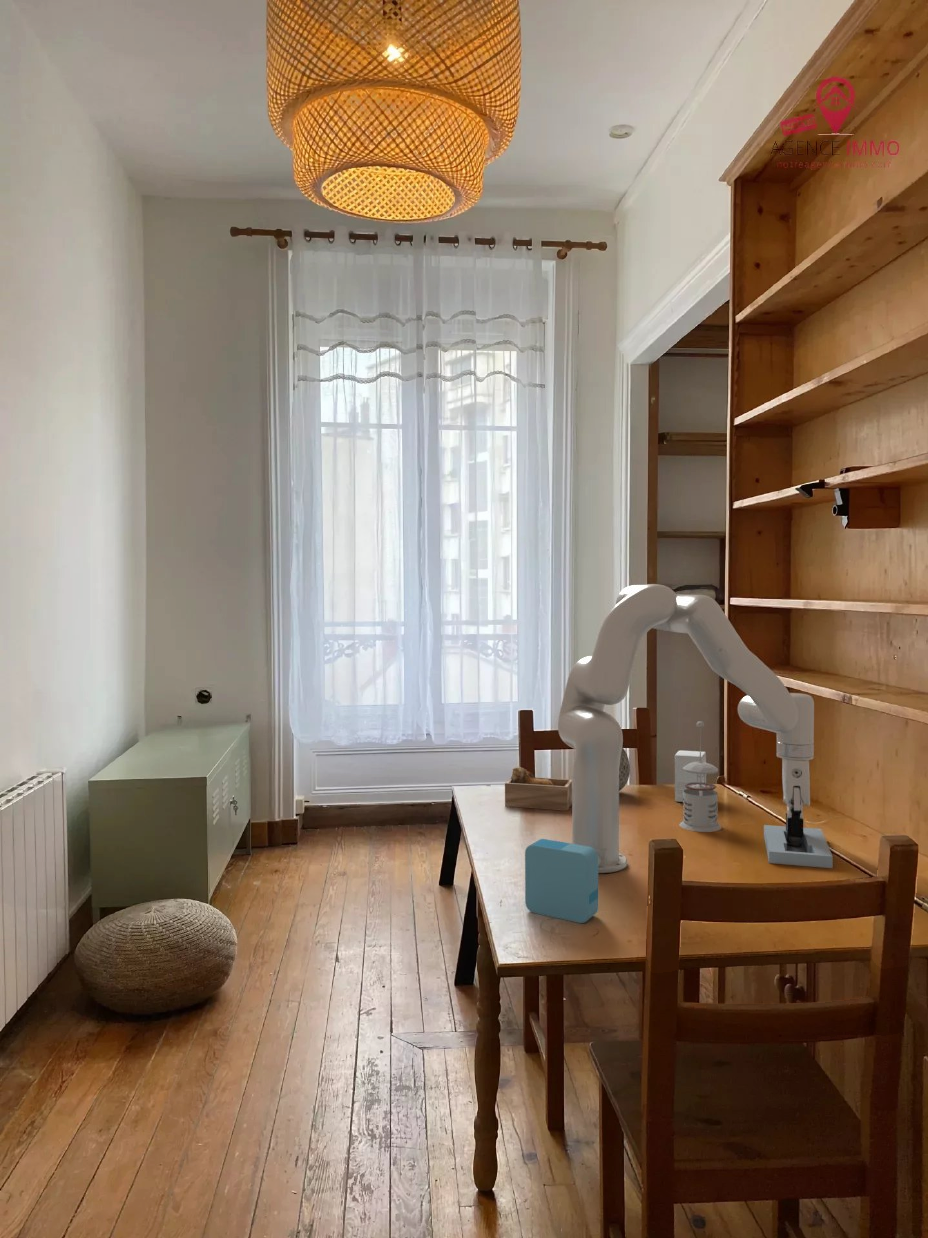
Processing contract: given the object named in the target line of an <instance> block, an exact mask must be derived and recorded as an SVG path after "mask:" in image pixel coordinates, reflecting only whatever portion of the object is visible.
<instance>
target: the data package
mask: <svg viewBox="0 0 928 1238" xmlns="http://www.w3.org/2000/svg"><path fill="white" fill-rule="evenodd" d="M524 876H525V877H524V880H525V881H524V882H525V883H524V885H525V888H524V889H525V890H524V891H525V892H524V893H525V897H524V900H525V901H524V902H525V906H526V908H527V910H528V911H529V912H531V913H534V914H537V915H541V916H546V917H550V918H555V919H560V920H564V921H568V922H573V923H578V924H585V923H586V922H588V921H589V920H590V919H591V918H592V917H593V916H595V915H596V913H598V910H599V873H598V854H597V852H596V850H595V849H594V848H592V847H589V846H583V845H577V844H572V843H570V842H564V841H558V840H554V839H553V840H552V839H545V838H541V839H540V838H539V839H538V840H537V841H535V842H533V843H531V844H530V845H527V847H526V848H525V851H524Z"/></svg>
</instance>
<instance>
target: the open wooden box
mask: <svg viewBox="0 0 928 1238" xmlns="http://www.w3.org/2000/svg"><path fill="white" fill-rule="evenodd" d="M534 777H535V778H536V779H548V780H550V781H551V782H552V784H553V786H551V785H535V784H518V783H513V782H512V780H511V777H510V778H509V779H508V780H507V781H506V782H505V783H504V806H505V807H509V806H513V807H514V808H525V809H526V808H527V809H539V810H551V811H552V810H554V811H555V810H556V811H568V810H569V809H570V807H571V806H572V778H569V779H568V778H567V779H566V778H555V777H554V778H552V777H540V776H539V777H538V776H537V777H536V776H534ZM513 807H512V808H513Z"/></svg>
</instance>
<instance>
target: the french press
mask: <svg viewBox="0 0 928 1238" xmlns="http://www.w3.org/2000/svg"><path fill="white" fill-rule="evenodd" d="M695 725H696V727H698V728H699V752H700V761H698V762H692V763H689V764H688V765H686V766H684V767H683V769H684V770H685V771H686V772H689V773H694V774H697V782H694V783H693V782H689V783H686V784H685V786H686V788H688V789H686V790H684V791H683V797H684V798H683V802H682V803H683V805H682V813H683V814H682V817H683V818H682V821H681V822H680V823H679V824H678V825H679V827H680V828H682V829H684V830H687V831H692V832H698V833H699V832H700V833H711V832H718V831H720V830H722V829H723V827H722V825H721V824H720V823H719V821H718V819H719V817H718V815H719V811H718V810H719V809H718V808H719V806H718V805H719V804H718V802H719V801H718V799H719V795H718V791H716V790H715V789H716V788H717V786H716V785H715V784H713V783H709V782H706V783H705V774H706V775H713V774H717V773H718V772H719V769H718V767H716V766H715V765H714V764H711V763H708V762H706V763H705V762H702V761H701V752H702V728H703V727H705V723H704V721H702V720H701V721H697V722H696V724H695ZM698 774H700V776H698ZM701 774H704V775H703V776H701ZM698 777H700V782H699V783H698ZM701 777H704V783H701ZM699 791H702V796H699ZM684 800H685V802H684Z"/></svg>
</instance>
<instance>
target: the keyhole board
mask: <svg viewBox="0 0 928 1238" xmlns="http://www.w3.org/2000/svg"><path fill="white" fill-rule="evenodd" d="M825 837H826V836H825V835H824V833H823V831H822V829H821V828H815V827H814V828H811V827H803V844H802V845H800V846H794V845H789V844H787V831H786V825H785V826H783V825H771V824H770V825H768V824H764V825H763V838H764V843H765V844H764V845H765V849H766V855H767V859H768V864H775V865H776V864H777V865H786V866H787V865H788V866H801V867H815V868H822V869H823V868H825V869H826V868H827V869H833V867H834V866H833V864H834V862H833V861H834V859H833V857H834V856H833V854H832V852H831V849H830V847H829V844H828V842H827V841H826V838H825Z"/></svg>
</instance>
